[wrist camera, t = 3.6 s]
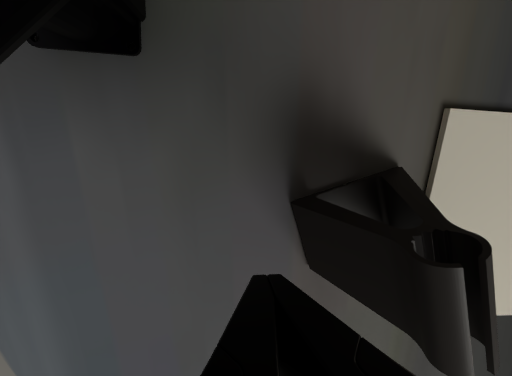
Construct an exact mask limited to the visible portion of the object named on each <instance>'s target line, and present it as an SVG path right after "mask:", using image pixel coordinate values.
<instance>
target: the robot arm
mask: <svg viewBox="0 0 512 376" xmlns="http://www.w3.org/2000/svg"><path fill="white" fill-rule="evenodd" d="M145 18H146V9H145V0H0V64H1V63H2V62H3V61H4V60H5V59H6V58H8V57H9V56H10V55H11V54H12V53H13V52H14V51H15V50H16V49H17V48H19V47H20V46H21V45H22V44H23V43H24V42H25V41H26V40H27V41H28V43H29V44H31V45H32V46H35V47H38V48H47V49H58V50H70V51H81V52H93V53H105V54H116V55H128V56H137V55H138V54H140V52H141V22H140V21H142V22H143V21H144V19H145ZM37 34H38V36H39V41H38V42H36V41H35V39H34V36H35V35H37ZM131 43H134V44H135V46H136V47H135V49H134V50H132V51H131V50H130V49H129V45H130V44H131ZM200 376H416V375H414V374H413V373H411V372H410V371H408V370H407V369H405V368H404V367H403V366H401V365H400V364H398V363H397V362H395V361H394V360H392V359H391V358H390V357H388V356H387V355H386V354H384V353H383V352H381V351H380V350H379V349H377V348H376V347H375V346H373V345H372V344H371V343H369V342H368V341H367V340H366V339H364V338H361V336H360V335H359V334H358V333H356V332H355V331H354V330H352V329H351V328H350V327H348V326H347V325H346V324H345V323H343V322H342V321H341V320H339V319H338V318H337V317H335V316H334V315H333V314H332V313H330V312H329V311H328V310H326V309H325V308H324V307H322V306H321V305H320V304H319V303H317V302H316V301H315V300H313V299H312V298H311V297H309V296H308V295H307V294H306V293H304V292H303V291H302V290H300V289H299V288H298V287H296V286H295V285H294V284H293V283H291V282H290V281H289V280H287V279H286V278H285V277H283V276H282V275H281V274H269V275H267V276H266V275H253V276H252V278H251V280H250V282H249V284H248V286H247V288H246V290H245V292H244V294H243V296H242V297H241V299H240V301H239V303H238V305H237V307H236V309H235V311H234V313H233V315H232V317H231V319H230V321H229V323H228V325H227V327H226V329H225V331H224V333H223V335H222V336H221V338H220V340H219V342H218V344H217V347H216V348H215V350H214V352H213V354H212V356H211V358H210V359H209V361H208V363H207V365H206V366H205V368H204V370H203V372H202V374H201V375H200Z"/></svg>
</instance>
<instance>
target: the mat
mask: <svg viewBox="0 0 512 376" xmlns="http://www.w3.org/2000/svg"><path fill="white" fill-rule="evenodd" d="M425 195H426V196H427V197H428V198H429V199H430V200H431V202H432V203H433V204H434V205H435V206H436V207H437V209H438V210H439V211H440V212H441V213H442V214H443V216H444V217H445V218H446V219H447V220H448V221H450V222H451V223H453V224H454V225H456V226H458V227H460V228H462V229H465V230H467V231H470V232H473V233H476V234H478V235H480V236H482V237H483V238H485V239H486V240H487V241H488V242H489V243H490V245H491V247H492V257H493V272H494V287H495V302H496V315H512V113H506V112H493V111H479V110H466V109H453V108H445V109H444V113H443V118H442V122H441V126H440V131H439V135H438V140H437V144H436V149H435V153H434V157H433V162H432V166H431V171H430V175H429V179H428V184H427V188H426V193H425Z"/></svg>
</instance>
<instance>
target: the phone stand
mask: <svg viewBox="0 0 512 376" xmlns="http://www.w3.org/2000/svg"><path fill="white" fill-rule="evenodd" d="M291 204H292V208H293V211H294V215H295V218H296V222H297V225H298V229H299V232H300V236H301V239H302V243H303V246H304V250H305V253H306V257H307V260H308V264H309V267H310V269H311V270H313V271H314V272H316V273H317V274H319V275H320V276H322V277H323V278H325V279H326V280H328V281H329V282H331V283H332V284H334V285H335V286H337V287H338V288H340V289H341V290H343V291H344V292H346V293H347V294H349V295H350V296H352V297H353V298H355V299H356V300H358V301H359V302H361V303H362V304H364V305H365V306H367V307H368V308H370V309H371V310H373V311H374V312H376V313H377V314H378V315H380V316H381V317H383V318H384V319H386V320H387V321H389V322H390V323H392V324H393V325H395V326H396V327H398V328H399V329H401V330H402V331H404V332H405V333H407V334H408V335H409V336H410V337H411V338H412V339H413V340H414V341H415V342H416V343H417V344H418V345H419V346H420V348H421V349H422V351H423V352H424V354H425V356H426V357H427V359H428V360H429V362H430V363H431V364H432V365H433V366H434V367H435V368H437V369H438V370H439V371H441V372H442V373H444V374H446V375H448V376H474V368H473V359H472V349H471V339H470V336H472V337H474V338H475V339H477V340H478V341H480V342H481V343H482V344H483V345H484V346H485V349H486V360H487V371H489V372H491V373H492V374H494V375H495V374H496V373H497V372H498V370H499V366H500V361H499V346H498V331H497V316H496V302H495V287H494V272H493V257H492V247H491V245H490V243H489V242H488V241H487V240H486V239H485V238H483V237H482V236H480V235H478V234H476V233H473V232H470V231H467V230H465V229H462V228H460V227H458V226H456V225H454V224H453V223H451V222H450V221H448V220H447V219H446V218H445V217H444V216H443V214H442V213H441V212H440V211H439V210H438V209H437V207H436V206H435V205H434V204H433V203H432V202H431V200H430V199H429V198H428V197H427V196H426V195H425V193H424V192H423V191H422V190H421V189H420V188H419V186H418V185H417V184H416V183H415V182H414V181H413V179H412V178H411V177H410V176H409V175H408V174H407V172H406V171H405V170H404V169H403V168H402V167H395V168H392V169H389V170H386V171H383V172H380V173H377V174H374V175H371V176H368V177H365V178H362V179H359V180H355V181H352V182H349V183H347V184H346V185H340V186H337V187H334V188H331V189H328V190H325V191H322V192H319V193H316V194H313V195H310V196H307V197H304V198H300V199H297V200H294V201H292V202H291Z"/></svg>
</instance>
